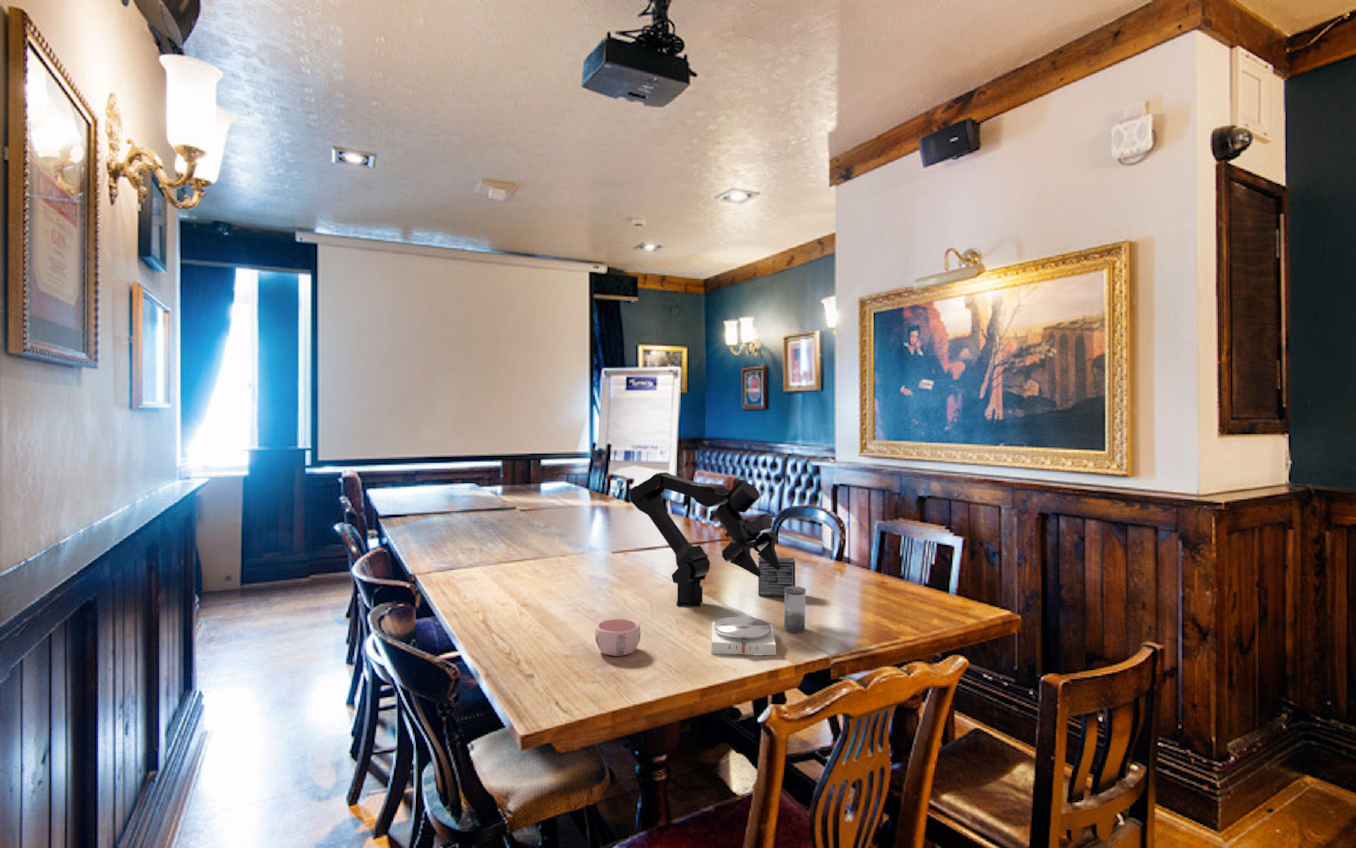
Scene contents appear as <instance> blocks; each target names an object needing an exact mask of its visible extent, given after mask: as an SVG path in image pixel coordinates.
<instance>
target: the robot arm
mask: <svg viewBox="0 0 1356 848" xmlns="http://www.w3.org/2000/svg"><path fill="white" fill-rule="evenodd" d="M666 490H669V491H671V492H675V493H677V494H681V495H685V496H687V497H689V498H692V499H693V500H694V501H695V502H696V503H697V504H699V505H701V506H703V507H705V508H712V507H717V506H718V507H717V508H716V509H715V510H710V513H709V518H708V519H709V522H714V521H718V522H719V523H720V524H721V526H722V528H723V529H724V531H725V532H726V533H725V534H724V536H725V537H726V538H727V539H728V538H731V541H730V542H729V543H728V544H727V545H726V546H725V547H724V549H722V551H721V558H723V559H724V561H725V562H726V563H728V562H729V563H730V564H733V565H736V566H738V567H739V568H741V569H743V570H746V571H747V572H749V573H751V574H752V575H754V576H756V577H760V576H761V575H762V574H761V572H760V570H759V568H758V564H757V563H756V561H755V559H754V558H753V557H752V555H751V549H754V551H755V552H757V555H758V556H759V557H761V558H763V559H764V560H765V561H766V562H768V563H769V564H770V565H771V566H772V567H774V568H775V569H777V570H779V569H780V568H781V566H780V564H779V561H778V558H779V557H778V556H777V553H776V549H775V547H776V543H777V539H779V536H778V535H777V534H776V532H775V531H773V530H769V529H772V528H773V525H772V524H773V518H772V517H770V515H769V514H768V513H762V514H760V515H758V518H755V519H752V520H751V519H749V518H744V516H742V513H746V512H748V511H749V510H750V509H751V507H753V505H754V504H755V503H756V502H757V501H758V500H759V499H760V497H761V493H760V492H759V490H758V489H757V487H754V486H753V485H752V484H751V483H748V482H747V481H746V479H740V480H738V481H737V482H736V484H735V485H734V487H732V489H727V488H726V486H725V485H724V484H721V483H706V482H705V483H702V482H698V481H694V480H690V479H687V478H684V477H680V476H679V475H678V476H677V475H674V474H670V473H669V472H657V473H655V474H654V475H652V476H651V477H650V478H647V479H646V480H645V481H643V482H641V483H639V484H637V485H635V486H633V487H632V488H631V490H630V494H629V500H630V502H631V503H632V505H634V507H635V508H636V509H637V510H638V511H640V512H642V513H644V514H645V515H647V516H648V517H649V518H650V520H651V522H653V524H654V525H655V527H656V528H657V530H658V532H659V533H660V534H661V536H662V537H663V539H664V540H665V542H666V543H667V545H669V547H670V549H671V550H672V551H673V553H674V555H675V564H676V566H677V569H676V570H675V571H674V572H673V573H672V574H671V578H672V582H673V584H677V596H676V597H677V599H676V606H677V607H701V604H702V603H703V597H704V596H703V595H704V594H703V591H704V590H703V589H704V588H703V587H704V586H703V585H701V583H702V582H701V581H703V580H706V577H707V574H708V573H709V571H710V568H711V567H710V565H711V562H710V560H709V555H708V554H707V553H706V552H705V551H704V549H703V547H702V546H701V545H700V544H699V545H692V544H691V543H690V542H689V541H688V539H687V538H686V537H685V535H684V534H683V532H682V531H681V529H680V528H679V527H678V525H677V524H676V523H675V520H673V518H672V517H671V516H670V514H669V513H668V512H667V509H665V508H664V506H663V497H662V494H664V492H665V491H666ZM767 529H768V531H765V530H767ZM762 531H763V532H762Z"/></svg>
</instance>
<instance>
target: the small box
mask: <svg viewBox="0 0 1356 848" xmlns="http://www.w3.org/2000/svg"><path fill="white" fill-rule="evenodd" d="M777 558H778V561H779V564H780V566H781V568H780V569H779V570H777V569H775V568H774V567H772V566H771V565H770V564H769V563H768V562H766V561H765V560H764V559H763V558H761V557H760V556H759V557H758V564H757V566H758V568H759V570H760V572H761V574H762V575H761V576H760V577H758V576H757V577H758V584H757V586H758V587H757V588H758V597H759V596H765V598H767V597H768V598H785V591H784V588H785V587H789V586H796V560H795V558H793V557H777Z"/></svg>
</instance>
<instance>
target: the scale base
mask: <svg viewBox="0 0 1356 848" xmlns="http://www.w3.org/2000/svg"><path fill="white" fill-rule="evenodd" d="M715 622H716V621H712V626H711V627H712V629H711V642H710V643H711V648H710V649H711V651H710V653H711V654H717V655H718V654H719V655H736V654H762V655H764V654H765V655H776V652H777V651H776V649H777V648H776V647H777V644H776V639H775V635H774V631H773V627H772V623H769V624H770V625H771V633H770V634H768V635H767V636H764V637H760V638H753V639H745V653H742V639H740V638H732V637H727V636H724V635H721V634H719V633H718V632H716V631H715V629H714V624H715ZM762 655H761V656H762Z"/></svg>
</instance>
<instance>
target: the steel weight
mask: <svg viewBox="0 0 1356 848" xmlns="http://www.w3.org/2000/svg"><path fill="white" fill-rule="evenodd" d="M784 591H785V597H784V610H783V611H784V614H783V615H784V620H783V621H784V622H783V626H784V627H783V628H784V629H783V630H784V631H785V632H787V633H791V634H802V633H804V632H805V631H806V593H807V589H806V588H804V587H802V586H797V585H795V586H789V587H785V588H784Z"/></svg>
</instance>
